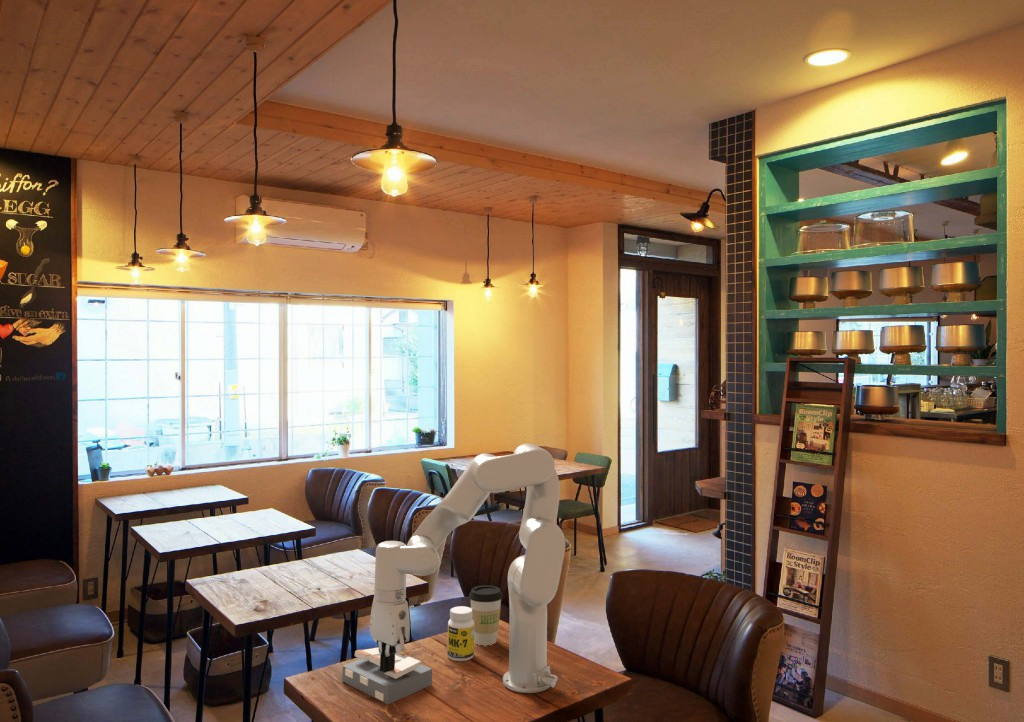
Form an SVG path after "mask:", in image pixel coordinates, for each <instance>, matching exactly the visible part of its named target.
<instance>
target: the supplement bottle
mask: <svg viewBox="0 0 1024 722" xmlns="http://www.w3.org/2000/svg"><path fill="white" fill-rule="evenodd" d="M472 616H473V615H472V609H471V607H469V606H465V605H460V606H459V605H458V606H454V607H452V608H450V609H449V620H448V622H447V652H446V653H447V657H448V659H449V660H451V661H456V662H465V661H466V662H467V661H469V660H471V659H473V658H474V655H475V639H474V621H473V619H472Z"/></svg>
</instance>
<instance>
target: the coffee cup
mask: <svg viewBox="0 0 1024 722" xmlns="http://www.w3.org/2000/svg"><path fill="white" fill-rule="evenodd" d="M468 598H469V600H470V608H471V609H472V615H473V616H472V619H473V621H474V644H475V645H477V644H478V645H477V646H480V645H483V646H482V647H488V646H487V645H491V646H493V645H492V644H494V643H495V644H496V643H497V640H498V639H497V638H498V630H499V625H500V624H499V623H500V617H501V609H502V607H501V603H502V599H503V598H504V597H503V593H502V591H501V589H500V587H498V586H496V585H487V584H486V585H477V586H474V587H472V588H471V590H470V592H469V594H468ZM495 644H494V645H495Z"/></svg>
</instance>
